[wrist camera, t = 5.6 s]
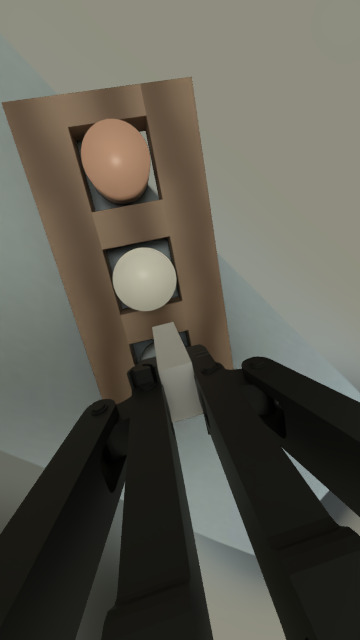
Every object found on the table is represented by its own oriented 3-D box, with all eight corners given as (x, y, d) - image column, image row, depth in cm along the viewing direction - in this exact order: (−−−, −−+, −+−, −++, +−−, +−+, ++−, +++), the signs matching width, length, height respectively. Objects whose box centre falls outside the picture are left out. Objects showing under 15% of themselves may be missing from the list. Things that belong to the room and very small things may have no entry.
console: (112, 407, 28) (110, 422, 26) (18, 120, 20) (1, 102, 17) (228, 377, 29) (236, 388, 27) (185, 96, 21) (191, 76, 19)
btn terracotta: (99, 208, 22) (92, 201, 18) (82, 144, 20) (71, 124, 17) (154, 198, 22) (156, 189, 19) (141, 135, 21) (141, 113, 17)
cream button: (124, 307, 23) (122, 317, 20) (110, 254, 22) (104, 254, 18) (175, 296, 24) (181, 303, 20) (165, 243, 22) (169, 241, 19)
